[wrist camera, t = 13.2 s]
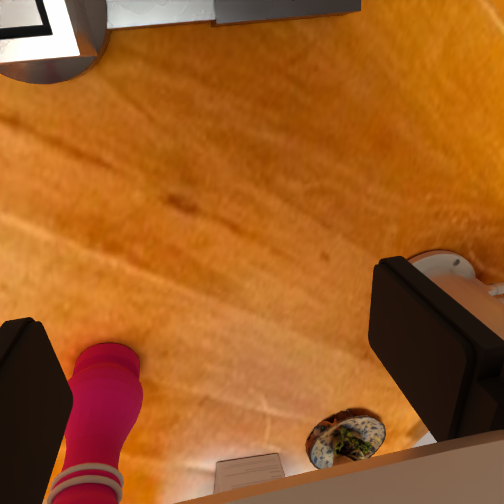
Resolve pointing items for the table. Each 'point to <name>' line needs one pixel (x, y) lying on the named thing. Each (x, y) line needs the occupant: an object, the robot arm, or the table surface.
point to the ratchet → (144, 24)
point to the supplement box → (247, 472)
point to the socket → (54, 36)
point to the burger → (344, 440)
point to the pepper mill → (98, 425)
